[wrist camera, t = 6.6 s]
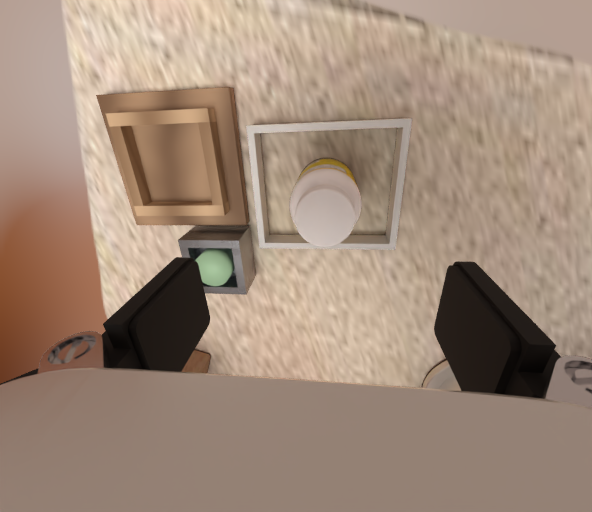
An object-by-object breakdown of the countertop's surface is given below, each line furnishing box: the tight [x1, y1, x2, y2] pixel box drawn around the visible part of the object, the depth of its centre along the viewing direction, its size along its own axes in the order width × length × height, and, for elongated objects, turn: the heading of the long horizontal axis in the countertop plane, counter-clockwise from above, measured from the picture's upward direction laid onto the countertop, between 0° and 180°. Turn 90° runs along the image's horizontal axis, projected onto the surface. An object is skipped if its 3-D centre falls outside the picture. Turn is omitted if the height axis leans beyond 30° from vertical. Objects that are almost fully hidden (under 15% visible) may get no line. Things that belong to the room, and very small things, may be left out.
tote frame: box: [246, 118, 412, 250], centre depth 26 cm, size 13×11×2 cm
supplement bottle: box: [289, 158, 362, 247], centre depth 23 cm, size 5×5×10 cm
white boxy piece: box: [178, 226, 256, 294], centre depth 29 cm, size 6×6×4 cm
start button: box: [195, 248, 235, 286], centre depth 28 cm, size 4×4×2 cm
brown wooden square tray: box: [96, 87, 249, 225], centre depth 26 cm, size 12×12×3 cm
